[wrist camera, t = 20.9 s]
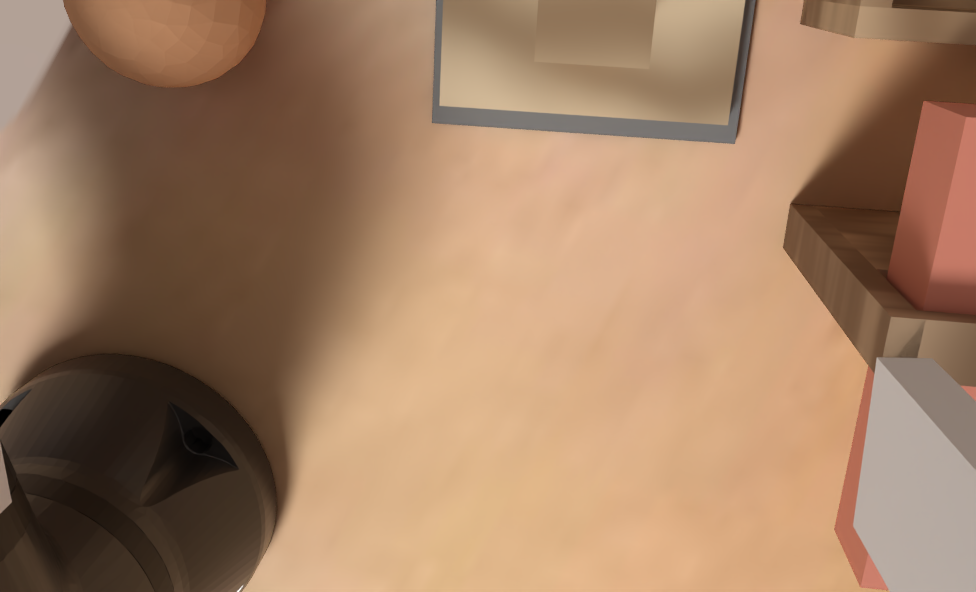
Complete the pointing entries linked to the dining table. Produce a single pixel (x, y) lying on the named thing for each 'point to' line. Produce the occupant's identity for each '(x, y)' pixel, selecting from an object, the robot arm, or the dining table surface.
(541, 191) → the dining table surface
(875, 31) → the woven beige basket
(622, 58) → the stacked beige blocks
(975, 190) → the red block
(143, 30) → the egg
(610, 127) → the mat
